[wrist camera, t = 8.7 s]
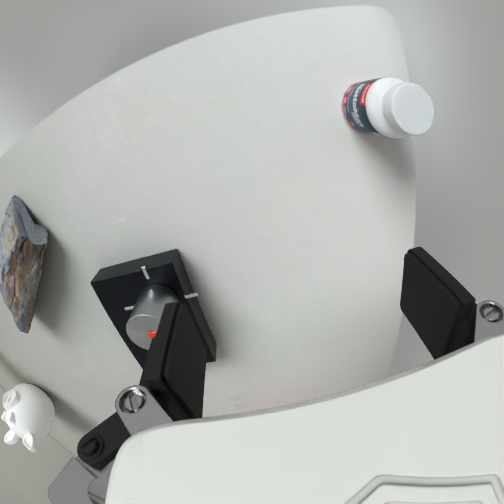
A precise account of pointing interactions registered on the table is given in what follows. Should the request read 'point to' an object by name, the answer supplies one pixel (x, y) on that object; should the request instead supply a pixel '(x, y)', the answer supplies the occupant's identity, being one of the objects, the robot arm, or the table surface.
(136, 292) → the hob panel
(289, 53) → the table surface
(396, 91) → the pill bottle
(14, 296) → the stone
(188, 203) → the table surface
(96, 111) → the table surface
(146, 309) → the knob
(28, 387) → the piggy bank
